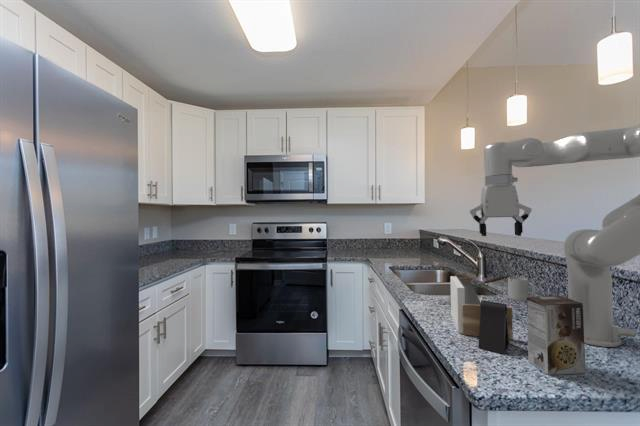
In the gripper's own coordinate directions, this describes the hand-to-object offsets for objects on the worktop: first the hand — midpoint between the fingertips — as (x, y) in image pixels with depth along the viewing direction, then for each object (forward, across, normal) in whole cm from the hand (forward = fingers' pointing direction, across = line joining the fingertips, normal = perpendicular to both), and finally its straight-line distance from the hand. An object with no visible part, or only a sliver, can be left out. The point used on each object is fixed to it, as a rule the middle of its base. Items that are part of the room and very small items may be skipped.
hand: (500, 235), depth 94 cm
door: (+29, +7, +8) cm, 31 cm away
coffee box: (+30, -4, +23) cm, 38 cm away
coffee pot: (+30, +4, -16) cm, 34 cm away
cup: (+30, -18, -38) cm, 52 cm away
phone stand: (+30, +7, +14) cm, 33 cm away
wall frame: (+30, +13, -2) cm, 32 cm away
